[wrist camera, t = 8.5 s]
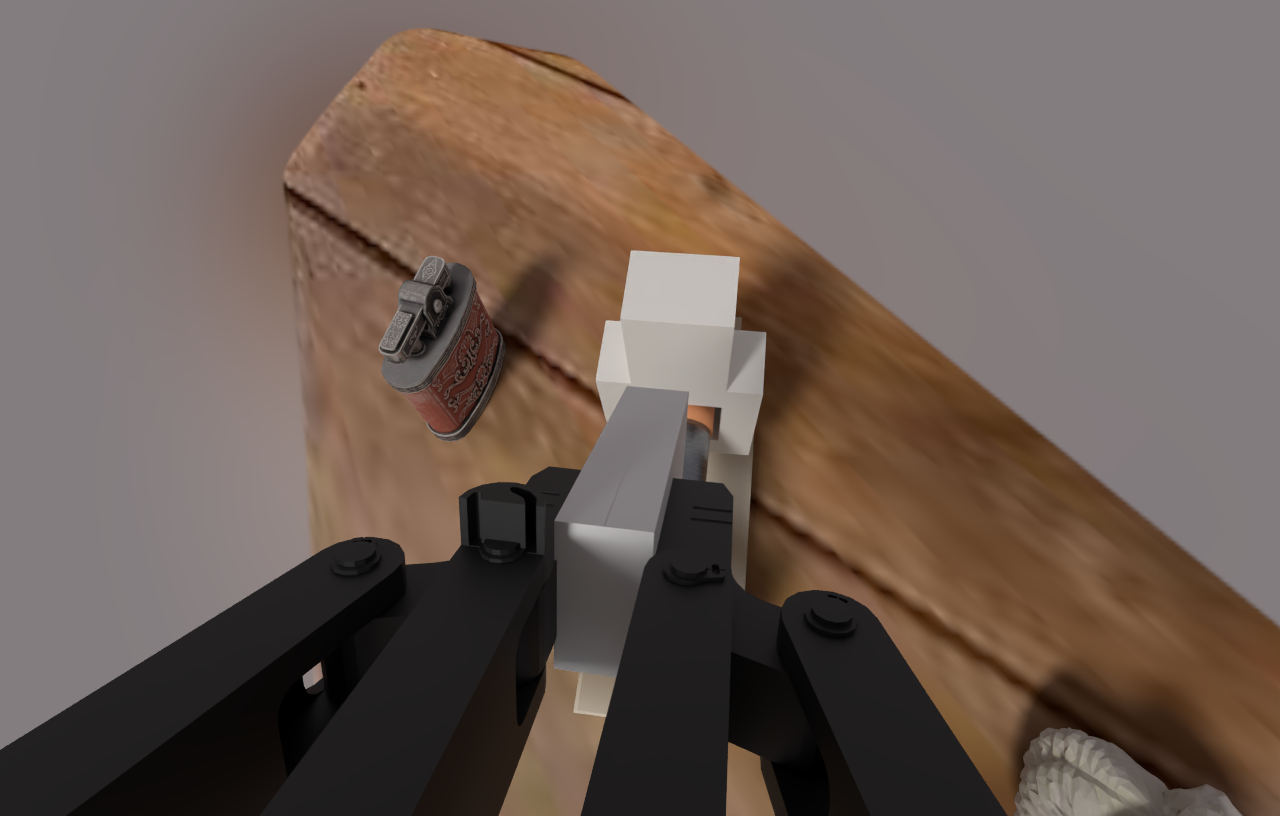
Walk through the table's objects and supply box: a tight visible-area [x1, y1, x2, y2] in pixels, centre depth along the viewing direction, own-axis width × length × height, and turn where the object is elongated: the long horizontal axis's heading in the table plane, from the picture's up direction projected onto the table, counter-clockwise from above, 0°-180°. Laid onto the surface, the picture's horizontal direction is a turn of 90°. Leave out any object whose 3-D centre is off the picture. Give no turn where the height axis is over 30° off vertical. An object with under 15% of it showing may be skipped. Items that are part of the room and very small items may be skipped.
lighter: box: [379, 256, 505, 442], centre depth 38 cm, size 8×3×10 cm, turn 163°
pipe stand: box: [574, 317, 754, 717], centre depth 33 cm, size 18×8×11 cm, turn 173°
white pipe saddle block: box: [596, 251, 766, 455], centre depth 29 cm, size 3×7×12 cm, turn 83°
